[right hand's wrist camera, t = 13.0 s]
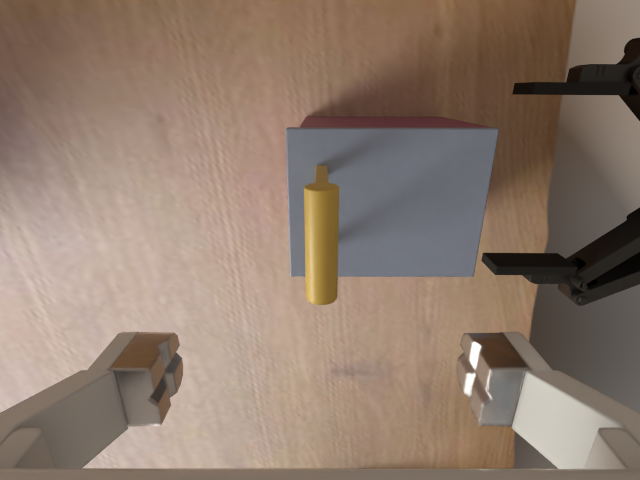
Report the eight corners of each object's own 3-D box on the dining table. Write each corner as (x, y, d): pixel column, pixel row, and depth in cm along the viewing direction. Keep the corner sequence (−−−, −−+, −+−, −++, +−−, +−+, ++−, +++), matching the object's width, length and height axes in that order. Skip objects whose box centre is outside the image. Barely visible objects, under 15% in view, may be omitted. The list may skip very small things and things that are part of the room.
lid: (291, 271, 27) (279, 339, 19) (286, 127, 23) (270, 143, 16) (469, 271, 27) (525, 339, 19) (493, 127, 23) (574, 143, 16)
